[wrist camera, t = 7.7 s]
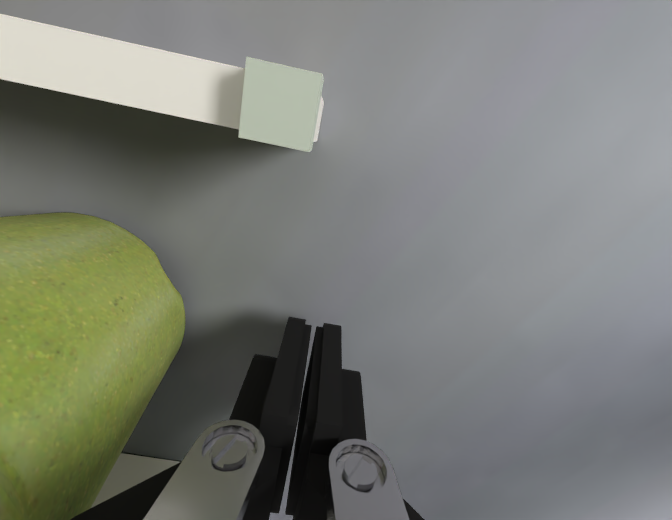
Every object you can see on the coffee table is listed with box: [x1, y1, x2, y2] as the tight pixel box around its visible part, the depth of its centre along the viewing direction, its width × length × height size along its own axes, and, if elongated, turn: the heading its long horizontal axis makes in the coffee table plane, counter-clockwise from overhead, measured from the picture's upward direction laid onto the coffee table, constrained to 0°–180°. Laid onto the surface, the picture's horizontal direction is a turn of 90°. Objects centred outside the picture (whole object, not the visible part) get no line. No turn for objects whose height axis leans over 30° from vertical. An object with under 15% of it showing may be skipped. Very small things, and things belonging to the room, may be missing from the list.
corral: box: [0, 14, 324, 508], centre depth 9 cm, size 13×15×4 cm
